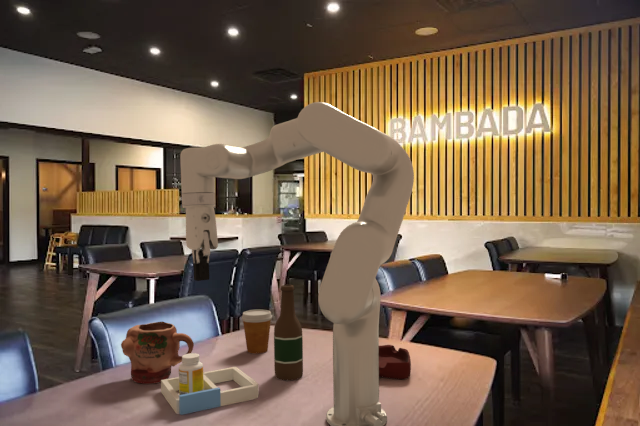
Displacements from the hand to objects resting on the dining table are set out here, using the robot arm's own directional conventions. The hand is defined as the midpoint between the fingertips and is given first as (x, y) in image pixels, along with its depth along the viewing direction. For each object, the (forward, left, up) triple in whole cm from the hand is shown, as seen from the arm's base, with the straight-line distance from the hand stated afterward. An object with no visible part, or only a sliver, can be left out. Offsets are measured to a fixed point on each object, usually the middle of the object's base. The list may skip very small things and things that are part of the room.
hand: (201, 279), depth 118 cm
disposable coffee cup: (+30, -26, -28) cm, 49 cm away
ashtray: (-8, -47, -29) cm, 56 cm away
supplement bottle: (+2, +2, -28) cm, 28 cm away
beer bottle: (+4, -24, -28) cm, 37 cm away
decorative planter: (+21, +6, -28) cm, 36 cm away
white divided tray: (+2, -2, -28) cm, 28 cm away
